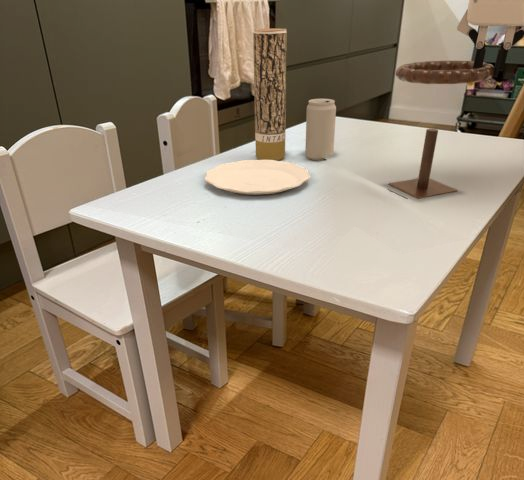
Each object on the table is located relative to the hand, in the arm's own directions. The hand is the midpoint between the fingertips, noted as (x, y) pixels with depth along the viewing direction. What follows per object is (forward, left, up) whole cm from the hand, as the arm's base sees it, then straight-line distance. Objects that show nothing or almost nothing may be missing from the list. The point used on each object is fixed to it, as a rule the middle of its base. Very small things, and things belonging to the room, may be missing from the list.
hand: (486, 74), depth 85 cm
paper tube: (+23, -37, -20) cm, 48 cm away
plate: (+33, -22, -20) cm, 44 cm away
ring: (+5, -5, 0) cm, 7 cm away
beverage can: (+13, -32, -20) cm, 39 cm away
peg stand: (+8, -2, -19) cm, 21 cm away
